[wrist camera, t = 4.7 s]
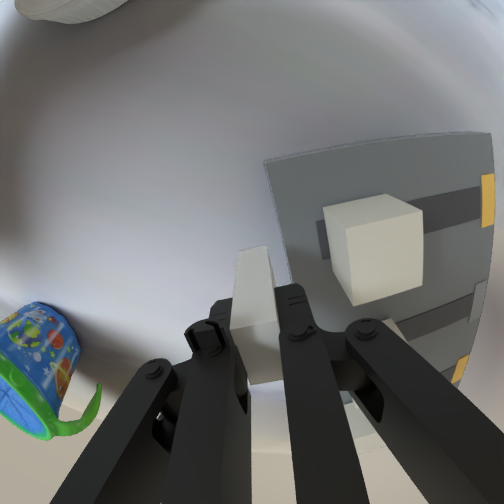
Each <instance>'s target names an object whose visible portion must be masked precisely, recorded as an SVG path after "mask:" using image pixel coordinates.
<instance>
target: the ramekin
mask: <svg viewBox="0 0 504 504" xmlns="http://www.w3.org/2000/svg"><path fill="white" fill-rule="evenodd" d="M127 1H128V0H15V7H16V10H17V11H18V13H19V14H20V15H22V16H24V17H26V18H29V19H32V20H49V21H55V22H59V23H66V24H74V23H75V24H78V23H82V22H87V21H90V20H94V19H96V18H99V17H101V16H103V15H105V14H107V13H109V12H111V11H113V10H114V9H116V8H118V7H119V6H121V5H122V4H124V3H125V2H127Z"/></svg>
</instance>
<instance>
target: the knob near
mask: <svg viewBox="0 0 504 504" xmlns="http://www.w3.org/2000/svg"><path fill="white" fill-rule="evenodd" d="M323 212H324V218H325V224H326V230H327V236H328V242H329V249H330V256H331V263H332V270H333V272H334V274H335V276H336V277H337V279H338V281H339V282H340V284H341V286H342V288H343V289H344V291H345V293H346V295H347V296H348V298H349V300H350V301H351V303H352V305H353V307H354V306H357V305H361V304H364V303H368V302H371V301H374V300H378V299H381V298H384V297H388V296H391V295H394V294H397V293H400V292H403V291H406V290H410V289H413V288H416V287H419V286H421V285H422V280H423V212H422V210H420V209H418V208H416V207H414V206H412V205H410V204H407V203H405V202H403V201H401V200H399V199H397V198H395V197H392V196H390V195H388V194H382V195H377V196H372V197H368V198H363V199H358V200H354V201H349V202H344V203H340V204H335V205H331V206H326V207H323Z"/></svg>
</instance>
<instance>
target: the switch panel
mask: <svg viewBox="0 0 504 504" xmlns="http://www.w3.org/2000/svg"><path fill="white" fill-rule="evenodd" d="M264 165H265V169H266V173H267V177H268V181H269V185H270V189H271V193H272V198H273V202H274V206H275V210H276V215H277V219H278V223H279V227H280V232H281V236H282V241H283V245H284V250H285V254H286V259H287V263H288V268H289V272H290V277H291V282H292V284H294V283H298V284H299V285H301V286H302V287H303V288H304V290H305V293H306V296H307V299H308V302H309V305H310V308H311V311H312V314H313V317H314V320H315V323H316V324H317V326H318V327H319V328H321V329H323V330H325V331H329V332H345V330H346V328H347V327H348V325H349V324H351V323H352V322H354V321H356V320H359V319H362V318H373V319H378V320H380V321H383V320H386V319H389V318H391V319H392V320H393V321H394V323H395V324H396V326H397V327H398V329H399V330H400V332H401V333H402V335H403V336H404V338H405V339H406V341H407V342H408V344H409V345H410V346H411V347H412V348H413V349H414V350H415V351H416V352H418V353H419V354H420V355H421V356H422V357H423V358H424V359H425V360H426V361H428V362H429V363H430V364H431V365H432V366H433V367H434V368H435V369H436V370H437V371H439V372H440V373H441V374H442V375H443V376H444V377H445V378H446V379H447V380H448V381H449V382H451V383H452V384H453V385H454V386H455V387H456V388H458V386H459V383H460V381H461V378H462V375H463V373H464V370H465V367H466V364H467V361H468V359H469V355H470V352H471V349H472V346H473V343H474V339H475V336H476V332H477V329H478V324H479V321H480V317H481V313H482V308H483V304H484V298H485V294H486V288H487V283H488V277H489V270H490V263H491V255H492V246H493V234H494V216H495V177H494V160H493V148H492V139H491V133H483V132H451V133H436V134H424V135H413V136H404V137H395V138H387V139H379V140H372V141H365V142H358V143H352V144H346V145H340V146H334V147H328V148H323V149H317V150H312V151H307V152H302V153H297V154H292V155H288V156H283V157H279V158H274V159H270V160H265V161H264ZM382 194H388V195H390V196H392V197H395V198H397V199H399V200H401V201H403V202H405V203H407V204H410V205H412V206H414V207H416V208H418V209H420V210H422V212H423V280H422V285H421V286H419V287H416V288H413V289H410V290H406V291H403V292H400V293H397V294H394V295H391V296H388V297H384V298H381V299H378V300H374V301H371V302H368V303H364V304H361V305H357V306H354V307H353V305H352V303H351V301H350V300H349V298H348V296H347V295H346V293H345V291H344V289H343V288H342V286H341V284H340V282H339V281H338V279H337V277H336V276H335V274H334V272H333V270H332V263H331V256H330V249H329V242H328V236H327V230H326V224H325V218H324V212H323V207H326V206H331V205H335V204H340V203H344V202H349V201H354V200H358V199H363V198H368V197H372V196H377V195H382ZM339 392H340V395H341V398H342V402H343V405H345V404H348V403H352V402H353V400H352V397H351V396H350V394H349V392H348V391H339Z"/></svg>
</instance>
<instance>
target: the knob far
mask: <svg viewBox="0 0 504 504" xmlns="http://www.w3.org/2000/svg"><path fill="white" fill-rule="evenodd" d="M344 409H345V412H346V415H347V419H348V422H349V426H350V429H351V433H352V437H353V440H354V444H355V448H356V451H357V455H360V454H363V453H366V452H370V451H373V450H376V449H378V448H382V447H384V446H387V445H386V444H385V443H384V441H383V440H382V438H381V437H380V436H379V434H378V433H377V432H376V430H375V429H374V427H373V426H372V425H371V423H370V422H369V421H368V419H367V418H366V416H365V415H364V414H363V412H362V411H361V409H360V408H356V409H355V406H354V403H353V402H352V403H348V404H345V405H344Z"/></svg>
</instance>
